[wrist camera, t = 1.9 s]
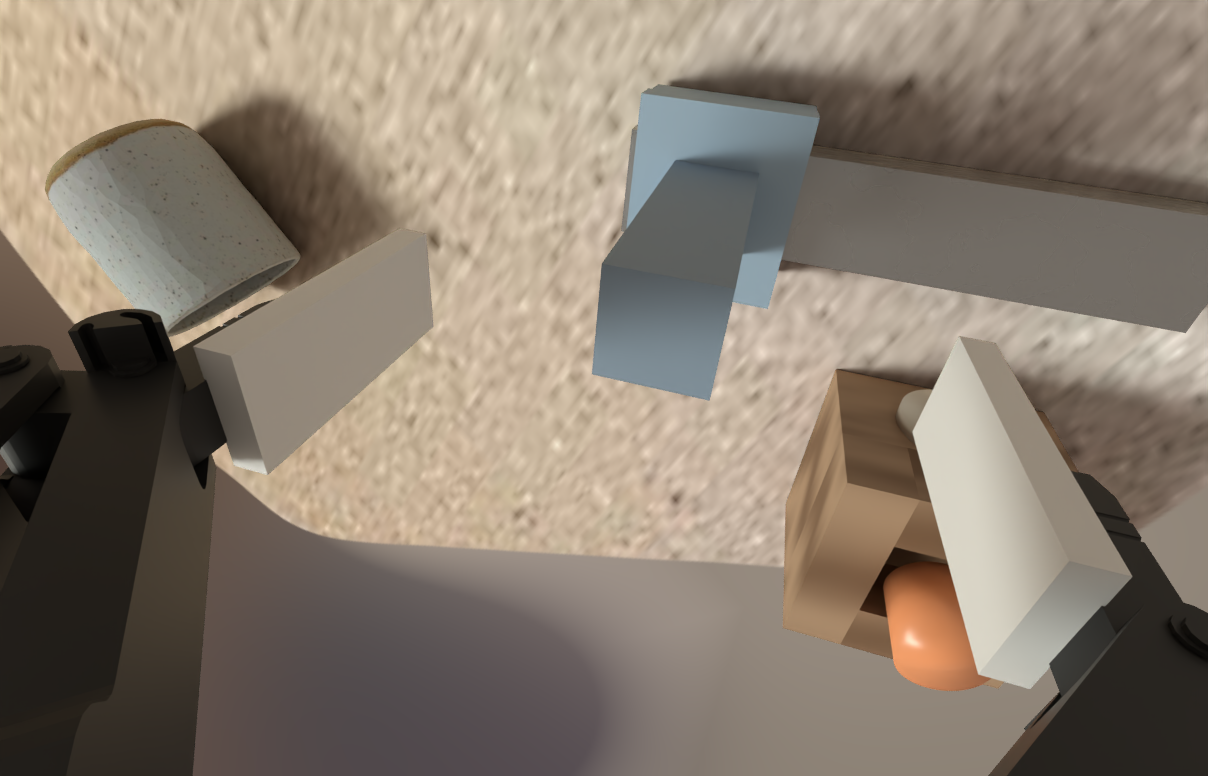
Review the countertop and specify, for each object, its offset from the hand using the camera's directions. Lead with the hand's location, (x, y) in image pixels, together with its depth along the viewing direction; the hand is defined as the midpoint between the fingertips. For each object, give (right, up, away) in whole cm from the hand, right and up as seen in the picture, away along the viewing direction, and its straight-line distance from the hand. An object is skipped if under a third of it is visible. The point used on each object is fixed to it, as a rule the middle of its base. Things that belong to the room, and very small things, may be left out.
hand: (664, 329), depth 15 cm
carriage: (+3, +7, +10) cm, 13 cm away
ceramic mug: (-22, +8, +18) cm, 30 cm away
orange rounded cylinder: (+11, -9, +9) cm, 17 cm away
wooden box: (+13, -5, +15) cm, 21 cm away
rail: (+10, +5, +9) cm, 14 cm away
